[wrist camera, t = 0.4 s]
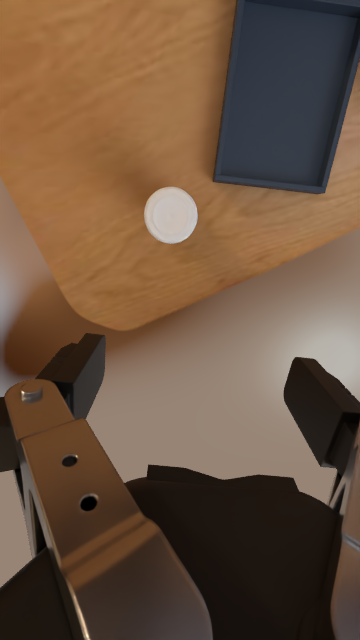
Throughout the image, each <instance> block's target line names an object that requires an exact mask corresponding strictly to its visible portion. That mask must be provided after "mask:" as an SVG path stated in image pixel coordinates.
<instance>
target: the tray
mask: <svg viewBox="0 0 360 640" xmlns="http://www.w3.org/2000/svg"><path fill="white" fill-rule="evenodd" d="M359 59H360V0H237V1H236V9H235V16H234V24H233V32H232V39H231V47H230V55H229V62H228V70H227V77H226V85H225V93H224V100H223V108H222V116H221V123H220V131H219V138H218V146H217V154H216V161H215V169H214V176H213V182H218V183H227V184H235V185H244V186H253V187H261V188H270V189H278V190H287V191H295V192H304V193H312V194H321V193H325V191H326V187H327V183H328V179H329V175H330V171H331V168H332V164H333V160H334V156H335V152H336V148H337V144H338V140H339V137H340V133H341V129H342V125H343V121H344V117H345V113H346V109H347V106H348V102H349V98H350V94H351V90H352V86H353V82H354V78H355V75H356V71H357V67H358V63H359Z"/></svg>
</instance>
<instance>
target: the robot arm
mask: <svg viewBox="0 0 360 640" xmlns="http://www.w3.org/2000/svg"><path fill="white" fill-rule="evenodd" d="M105 340H106V338H105V335H99V334H91V333H86V334H85V335H84V337H83V338H82V339H81V340H80V342H79V343H78V344H75V343H71V344H69V345H67V346H65V347H63V348H61V349H60V350H59V352H58V353H57V354H56V355H55V357H53V358H52V360H51V361H50V362H49V363H48V364H47V366H46V367H45V368H44V369H43V370H42V371H41V372H40V374H39V375H38V376H37V377H36V378H35V379H32V380H26V381H23V382H20V383H17V384H15V385H14V386H12V387H11V388H9V389H8V390H7V392H6V393H5V396H4V397H0V472H4V471H9V470H13V473H14V477H15V481H16V485H17V490H18V494H19V497H20V502H21V506H22V510H23V514H24V518H25V522H26V527H27V533H28V539H29V545H30V550H31V555H32V560H31V561H30V562H29V563H28V564H26V565H25V566H24V567H23V568H22V569H21V570H20V571H19V572H17V573H16V574H15V575H14V576H13V577H12V578H11V579H10V580H9V581H7V582H6V583H5V584H4V585H3V586H2V587H1V588H0V640H360V402H359V401H358V400H357V399H356V398H355V397H354V396H353V395H351V393H350V392H349V391H348V389H347V388H345V386H344V385H343V384H342V383H341V382H340V381H339V380H338V379H337V378H335V377H334V376H332V375H331V374H329V373H328V372H326V371H325V369H324V368H323V367H322V366H321V365H320V364H319V363H318V362H317V361H316V360H315V359H310V358H301V357H295V358H294V360H293V361H292V364H291V368H290V371H289V374H288V377H287V381H286V384H285V387H284V401H285V403H286V405H287V407H288V409H289V411H290V412H291V414H292V416H293V418H294V420H295V421H296V423H297V425H298V427H299V429H300V431H301V432H302V434H303V436H304V438H305V439H306V441H307V443H308V445H309V447H310V448H311V450H312V452H313V454H314V456H315V458H316V460H317V461H318V463H319V465H320V466H321V467H330V468H336V469H337V473H336V475H335V477H334V481H333V484H332V488H331V491H330V495H329V498H328V502H327V505H326V504H325V503H323V502H321V501H320V500H317V499H316V498H314V497H312V496H310V495H307V494H305V493H303V492H299V490H298V488H297V485H296V483H295V481H294V479H293V478H290V477H279V476H268V475H253V476H246V477H240V478H234V479H228V480H222V479H218V478H215V477H212V476H209V475H205V474H202V473H199V472H196V471H193V470H190V469H187V468H180V467H170V466H159V465H148V471H147V477H143V478H138V479H135V480H131V481H128V482H126V483H123V481H122V479H121V477H120V476H119V474H118V472H117V471H116V469H115V467H114V466H113V464H112V462H111V461H110V459H109V457H108V456H107V454H106V453H105V451H104V449H103V447H102V446H101V444H100V442H99V441H98V439H97V437H96V436H95V434H94V432H93V431H92V429H91V427H90V426H89V424H88V422H87V421H86V420H85V419H86V417H87V415H88V413H89V410H90V408H91V406H92V404H93V401H94V399H95V397H96V395H97V393H98V390H99V388H100V386H101V384H102V381H103V377H104V370H105V345H106V341H105Z"/></svg>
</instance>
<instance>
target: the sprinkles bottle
mask: <svg viewBox="0 0 360 640" xmlns="http://www.w3.org/2000/svg"><path fill="white" fill-rule="evenodd" d="M197 218H198V213H197V207H196V204H195V202H194V200H193V199H192V197H191V196H190V195H189V194H188V193H187V192H186V191H184V190H182V189H180V188H177V187H164V188H161V189H159V190H157V191H156V192H154V193H153V194H152V195H151V196H150V198H149V199H148V201H147V203H146V206H145V211H144V219H145V224H146V226H147V228H148V230H149V232H150V233H151V234H152V235H153V236H154V237H155V238H156V239H157V240H159V241H161V242H164V243H170V244H173V243H178V242H181V241H183V240H185V239H186V238H188V237H189V236H190V235H191V233H192V232H193V230H194V229H195V226H196V223H197Z"/></svg>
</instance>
